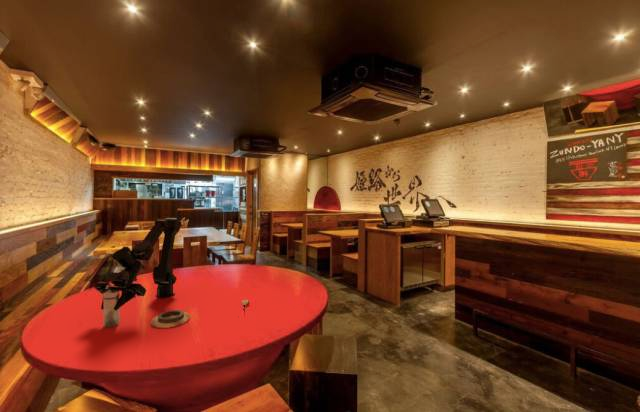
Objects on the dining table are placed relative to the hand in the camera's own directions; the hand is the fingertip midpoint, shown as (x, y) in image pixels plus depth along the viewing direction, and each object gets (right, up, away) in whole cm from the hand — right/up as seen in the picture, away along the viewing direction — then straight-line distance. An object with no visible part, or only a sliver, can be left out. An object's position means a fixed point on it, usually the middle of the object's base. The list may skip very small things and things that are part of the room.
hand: (108, 309), depth 111 cm
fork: (+47, -7, +20) cm, 51 cm away
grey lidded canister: (0, -7, +2) cm, 7 cm away
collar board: (+21, -7, +6) cm, 23 cm away
